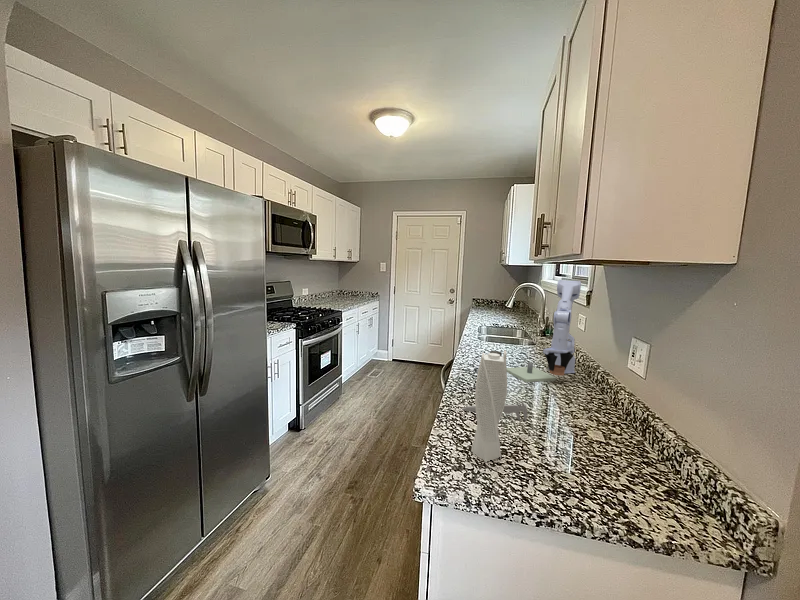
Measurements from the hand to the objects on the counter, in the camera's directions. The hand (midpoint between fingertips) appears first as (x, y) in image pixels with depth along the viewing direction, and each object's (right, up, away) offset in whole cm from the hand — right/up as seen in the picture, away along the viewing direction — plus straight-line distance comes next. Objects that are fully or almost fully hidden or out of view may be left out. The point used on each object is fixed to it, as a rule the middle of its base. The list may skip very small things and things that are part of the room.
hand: (557, 369), depth 143 cm
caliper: (-37, -8, -34) cm, 51 cm away
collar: (0, -2, 0) cm, 2 cm away
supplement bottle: (-27, -5, +2) cm, 27 cm away
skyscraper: (-45, -10, -58) cm, 74 cm away
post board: (-8, -5, +10) cm, 13 cm away
